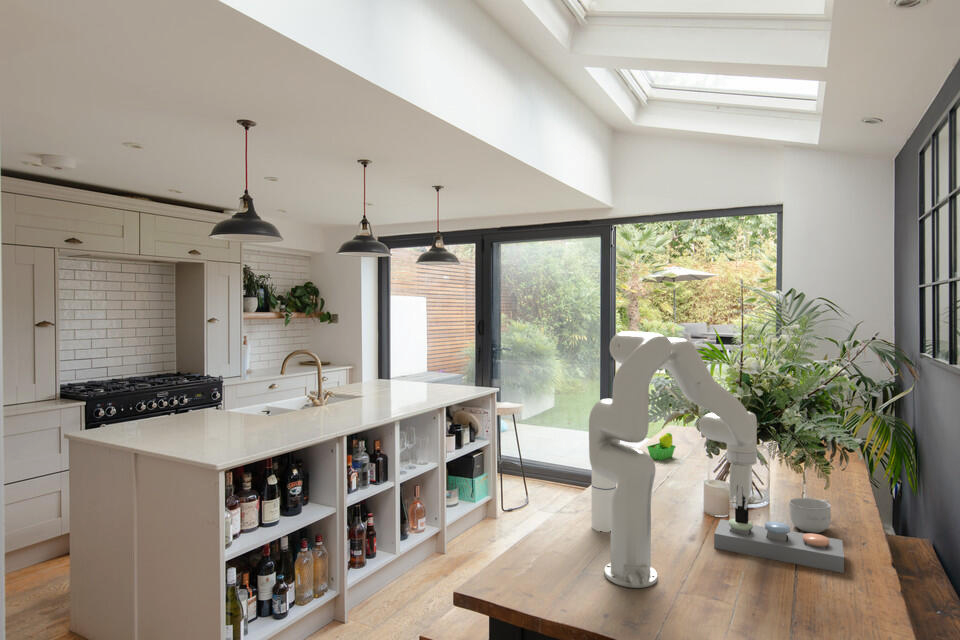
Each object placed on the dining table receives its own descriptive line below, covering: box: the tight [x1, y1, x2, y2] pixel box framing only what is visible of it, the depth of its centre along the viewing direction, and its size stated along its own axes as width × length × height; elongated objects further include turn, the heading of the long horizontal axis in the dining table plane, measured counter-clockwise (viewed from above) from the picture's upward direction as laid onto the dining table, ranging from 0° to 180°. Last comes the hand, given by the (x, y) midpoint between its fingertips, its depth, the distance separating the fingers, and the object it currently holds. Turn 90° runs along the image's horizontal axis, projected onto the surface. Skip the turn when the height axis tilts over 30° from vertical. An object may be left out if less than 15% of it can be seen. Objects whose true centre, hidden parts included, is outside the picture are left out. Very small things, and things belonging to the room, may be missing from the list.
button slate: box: [764, 521, 791, 542], centre depth 155 cm, size 6×6×4 cm
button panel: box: [713, 518, 845, 574], centre depth 155 cm, size 30×12×4 cm, turn 60°
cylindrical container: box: [591, 468, 617, 533], centre depth 172 cm, size 7×7×25 cm
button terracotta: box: [803, 532, 829, 549], centre depth 151 cm, size 6×6×4 cm
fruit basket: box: [646, 432, 676, 461], centre depth 250 cm, size 11×9×11 cm
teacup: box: [788, 497, 832, 534], centre depth 171 cm, size 14×11×8 cm
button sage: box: [728, 517, 754, 535], centre depth 160 cm, size 6×6×4 cm
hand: (741, 521), depth 160 cm, fingers closed
